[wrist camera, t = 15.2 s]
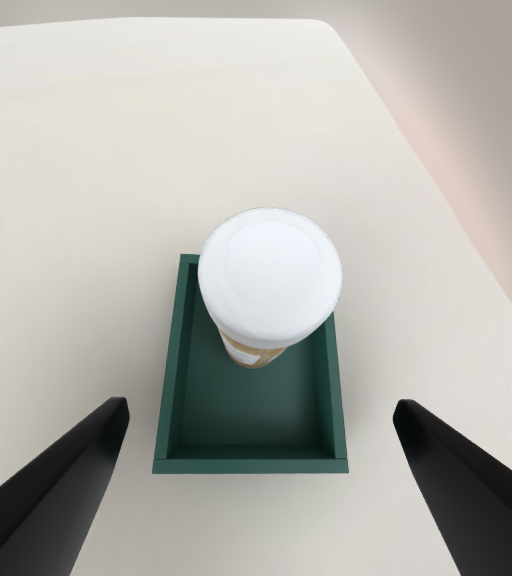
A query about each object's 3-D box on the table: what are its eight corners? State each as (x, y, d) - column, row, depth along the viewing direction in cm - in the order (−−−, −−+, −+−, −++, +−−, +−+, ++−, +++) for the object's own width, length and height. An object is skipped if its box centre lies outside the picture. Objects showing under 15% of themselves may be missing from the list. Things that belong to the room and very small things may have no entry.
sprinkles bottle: (289, 356, 20) (375, 308, 7) (233, 378, 19) (223, 366, 7) (268, 303, 21) (308, 186, 9) (215, 321, 21) (177, 222, 8)
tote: (326, 454, 18) (349, 473, 14) (170, 454, 18) (151, 474, 14) (313, 280, 23) (328, 259, 19) (190, 275, 22) (180, 253, 19)
